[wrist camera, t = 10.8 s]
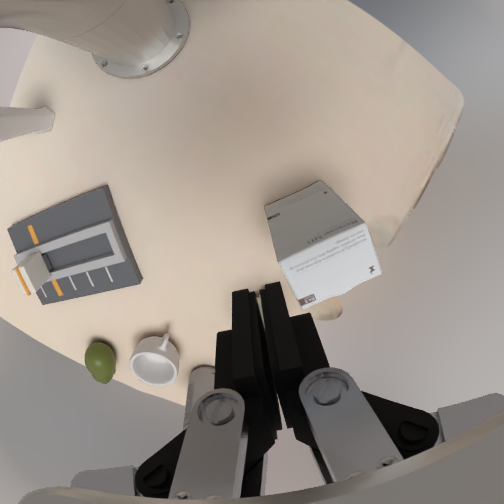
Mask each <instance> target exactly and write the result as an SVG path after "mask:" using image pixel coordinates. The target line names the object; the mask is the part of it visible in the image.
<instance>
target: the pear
mask: <svg viewBox="0 0 504 504" xmlns="http://www.w3.org/2000/svg"><path fill="white" fill-rule="evenodd" d="M85 364H86V367H87V369H88V370H89V371H90V372H91V373H92V376H93V378H94V379H95V380H97V381H98V382H101V383H103V384H106V383H108V382H109V381H110V380H111V379H112V377H113V375H114V374H115V356H114V353H113V351H112V349H111V348H110V347H109V346H108V345H106V344H104V343H101V342H95V343H92V344H91V345H90V346H89V347H88V348H87V350H86V353H85Z"/></svg>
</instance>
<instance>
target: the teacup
mask: <svg viewBox="0 0 504 504" xmlns="http://www.w3.org/2000/svg"><path fill="white" fill-rule="evenodd" d="M168 339H169V334H167V333H166V334H165V335H164V336H163V337H157V336H151V337H147V338H145V339H143V340H141V341H140V342H139V343H138V344H137V346H136V348H135V350H134V352H133V354H132V356H131V358H130V369H131V371H132V373H133V374H134V376H135V377H136V378H138V379H139V380H140V381H142V382H144V383H146V384H149V385H153V386H166V385H169V384H171V383H172V382H174V381H175V379H176V377H177V375H178V371H179V355H178V352H177V350H176V348H175V347H174V345H173V344H172V343H171V342H170V341H168Z"/></svg>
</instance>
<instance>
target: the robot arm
mask: <svg viewBox="0 0 504 504" xmlns="http://www.w3.org/2000/svg"><path fill="white" fill-rule="evenodd" d="M171 2H173V3H171ZM0 28H14V29H20V30H26V31H30V32H34V33H37V34H40V35H44V36H47V37H50V38H53V39H56V40H59V41H61V42H64V43H67V44H70V45H72V46H75V47H78V48H80V49H83V50H85V51H88V52H90V53H92V56H93V59H94V60H95V62H96V64H97V65H98V66H99V67H100V68H101V69H102V70H103V71H105V72H106V73H108V74H110V75H113V76H116V77H120V78H138V77H143V76H146V75H149V74H151V73H153V72H156V71H158V70H160V69H161V68H162V67H164V66H165V65H167V64H168V63H169V62H170V61H171V60H172V59H173V58H174V57H175V56H176V55H177V54H178V53H179V51H180V50H181V49H182V47H183V45H184V43H185V41H186V39H187V36H188V33H189V16H188V13H187V11H186V9H185V7H184V5H183V3H182V2H181V1H180V0H0ZM179 36H182V38H180V39H178V37H179ZM107 63H108V64H107ZM106 64H107V66H106ZM147 67H148V69H147V71H145V68H147ZM259 291H260V298H261V305H262V312H263V319H264V324H263V320H262V317H261V313H260V309H259V305H258V301H257V298H256V294H255V291H253V292H249V290H248V289H243V290H239V291H234V292H232V330H227V331H221V332H218V333H217V341H216V358H215V377H214V390H212V391H209V392H207V393H205V394H204V395H202V396H201V397H200V398H199V399H198V400H197V401H196V402H195V404H194V406H193V408H192V412H191V416H190V419H189V423H188V427H187V428H186V429H185V430H184V431H182V432H181V433H180V434H179V435H178V436H176V437H175V438H174V439H173V440H172V441H170V442H169V443H168V444H166V445H165V446H164V447H163V448H161V449H160V450H159V451H158V452H157V453H155V454H154V455H153V456H151V457H150V458H149V459H147V460H146V461H145V462H144V463H143V464H142V465H141V466H140V467H136V468H135V467H134V466H124V467H117V468H109V469H100V470H87V471H82V472H79V473H78V474H77V475H75V477H74V478H73V480H72V482H71V487H47V488H43V489H38V490H34V491H32V492H29V493H28V494H26V495H25V496H23V498H22V499H21V500H20V502H19V503H18V504H504V396H503V395H501V394H497V393H494V394H488V395H485V396H483V397H479V398H476V399H472V400H469V401H466V402H462V403H459V404H455V405H451V406H447V407H442V408H438V410H437V412H433V413H427V412H425V411H423V410H419V409H415V408H412V407H409V406H406V405H402V404H399V403H396V402H393V401H390V400H387V399H384V398H381V397H378V396H375V395H372V394H369V393H366V392H363V391H360V389H359V387H358V386H357V384H356V383H355V381H354V380H353V378H352V377H351V376H350V375H349V374H348V373H347V372H345V371H343V370H342V369H338V368H330V366H329V363H328V360H327V357H326V355H325V352H324V349H323V346H322V343H321V341H320V338H319V335H318V332H317V329H316V327H315V324H314V321H313V319H312V316H311V314H310V313H306V314H301V315H297V316H293V317H289V313H288V310H287V306H286V302H285V298H284V295H283V291H282V287H281V284H280V281H279V282H275V283H270V284H266V285H265V289H263V290H259ZM264 326H265V328H264ZM277 394H278V397H277ZM278 398H279V401H280V405H281V407H282V411H283V415H284V418H285V422H286V425H287V428H293V429H294V434H295V437H296V439H297V440H299V441H301V442H303V443H305V444H306V445H308V446H309V448H310V451H311V453H312V456H313V458H314V460H315V463H316V465H317V467H318V470H319V472H320V475H321V477H322V480H323V482H324V484H325V485H323V486H319V487H314V488H309V489H304V490H299V491H293V492H288V493H281V494H274V495H266V496H265V484H266V472H267V460H268V455H267V451H268V450H269V449H270V448H271V447H272V446H273V445H274V444H275V439H277V432H276V431H277V430H282V423H281V416H280V410H279V403H278Z"/></svg>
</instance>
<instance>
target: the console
mask: <svg viewBox="0 0 504 504" xmlns="http://www.w3.org/2000/svg"><path fill="white" fill-rule="evenodd" d="M7 230H8V232H9V235H10V237H11V240H12V242H13V245H14V247H15V249H16V252H17V254H16V255H14V258H15V260H16V262H17V264H19V263H21V262H22V261H23V260H24V259H25V258H26V257H28V256H30V255H33V254H36V253H39V252H40V253H41V255H43V254H46V255H47V258H48V260H49V262H50V264H51V266H52V269H51V270H50V271H49V273H50V275H51V277H50V278H49V279H48V280H47V281H46V282H45V283H44V284H43V285H42V286H41V288H40V289H39V290H38V291H37V292H36V294H37V295H38V297H39V299H40V301H41V303H42V305H45V304H50V303H54V302H59V301H64V300H69V299H73V298H78V297H83V296H87V295H92V294H97V293H101V292H106V291H111V290H115V289H120V288H124V287H129V286H134V285H138V284H140V283H141V281H142V279H143V278H142V276H141V273H140V271H139V269H138V266H137V264H136V261H135V259H134V256H133V254H132V251H131V249H130V246H129V244H128V241H127V238H126V236H125V233H124V230H123V228H122V225H121V222H120V219H119V217H118V214H117V211H116V208H115V205H114V202H113V199H112V196H111V193H110V190H109V187H108V185H106V186H103V187H101V188H98V189H95V190H93V191H90V192H88V193H85V194H83V195H80V196H78V197H75V198H73V199H70V200H68V201H65V202H63V203H61V204H58V205H56V206H54V207H51V208H49V209H47V210H45V211H42V212H40V213H38V214H36V215H34V216H32V217H29V218H27V219H25V220H23V221H21V222H19V223H17V224H15V225H13V226H11V227H10V228H8V229H7Z"/></svg>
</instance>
